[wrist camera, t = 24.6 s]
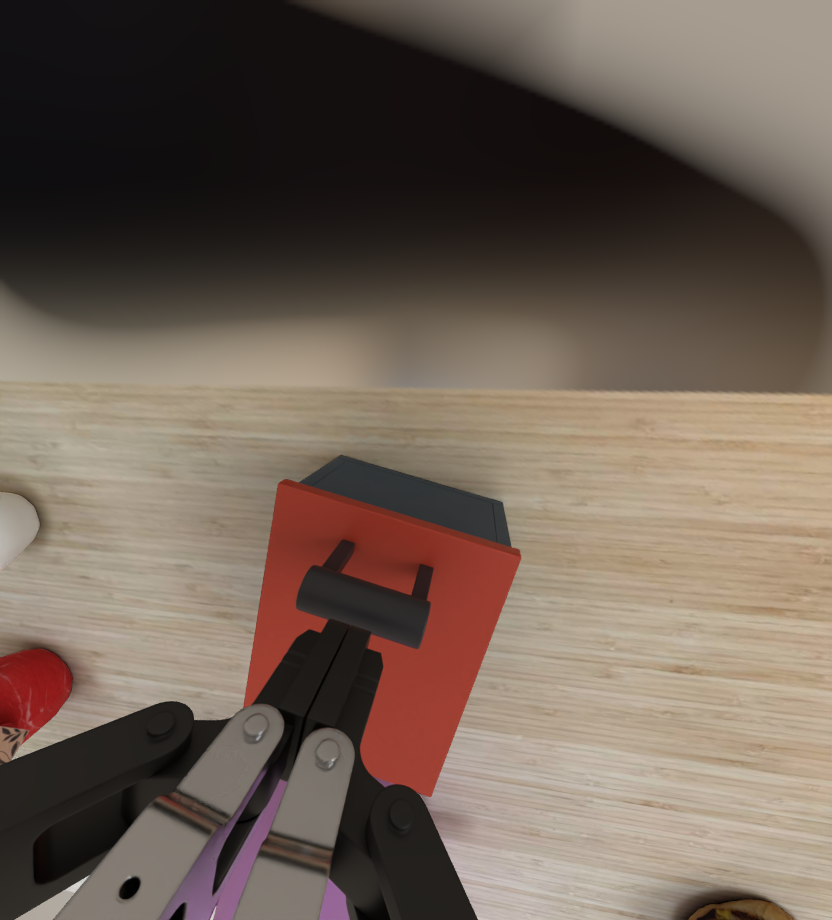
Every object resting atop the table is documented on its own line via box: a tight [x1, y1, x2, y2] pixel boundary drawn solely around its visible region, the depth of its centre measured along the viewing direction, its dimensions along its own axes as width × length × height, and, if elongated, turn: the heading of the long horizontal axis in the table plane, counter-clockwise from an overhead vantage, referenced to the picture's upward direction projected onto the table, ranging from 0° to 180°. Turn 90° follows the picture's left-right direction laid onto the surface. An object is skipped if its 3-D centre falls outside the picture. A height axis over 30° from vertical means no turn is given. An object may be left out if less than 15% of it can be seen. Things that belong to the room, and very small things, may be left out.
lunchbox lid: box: [243, 479, 521, 797], centre depth 19 cm, size 16×12×5 cm
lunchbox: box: [299, 455, 511, 547], centre depth 25 cm, size 16×12×8 cm
